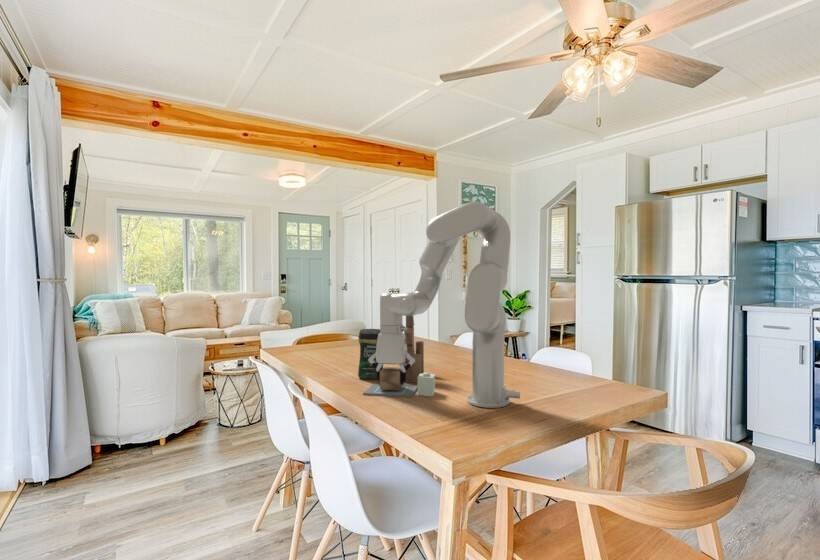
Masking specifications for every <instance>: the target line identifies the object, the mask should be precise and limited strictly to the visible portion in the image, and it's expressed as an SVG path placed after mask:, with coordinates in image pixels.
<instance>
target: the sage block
mask: <svg viewBox="0 0 820 560" xmlns="http://www.w3.org/2000/svg"><path fill="white" fill-rule="evenodd" d="M417 386H418V388H417V396H418V395H424V396H426V397H434V395H435V393H436V374H434V373H430V372H424V373H423V374H419V376H418V382H417ZM424 396H423V397H424Z"/></svg>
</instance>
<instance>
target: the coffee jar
mask: <svg viewBox="0 0 820 560" xmlns="http://www.w3.org/2000/svg"><path fill="white" fill-rule="evenodd" d="M358 333H359V334H358V343H359V348H360V349H359V361H358V363H359V364H358V374H357V377H358V378H359V379H363V380H377V371H376V369H375V368H374V367H373V366H372V364H371V363H370V362H369V361H368V359H369V358H370V357H371V356H372V355H373V354H374V353H376V346H377V338H378V334H379V333H380V328H362V329H360V330H359V332H358ZM374 361H375V362H376V357H375V358H374ZM376 363H377V362H376ZM377 364H379V363H377ZM383 368H384V365H383V366H382V369H383Z"/></svg>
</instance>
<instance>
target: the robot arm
mask: <svg viewBox="0 0 820 560" xmlns="http://www.w3.org/2000/svg"><path fill="white" fill-rule="evenodd" d="M425 230H426V231H425V232H426V238H427V239H428V242H427V243H426V246H425V247H424V250H423V251H422V254H421V256H420V257H419V261H418V263H419V267H420V270H421V271H420V272H421V273H420V274H421V275H420V278H419V282H418V284H417V285H416V288H415V289H414V291H412V292H407V293H399V292H385V293H381V294H380V296H379V329H380V333H379V334H378V338H377V346H376V353H374V354H373V355H372V356H371V357H370V358H369V359H368V361H369V362H370V363H371V364H372V366H373V367H374V368H375V369H376V371H377V379H376V380H377V381H378V384H380V371H381V370H382V366H383V367H384V365H398V366H399V368H401V370H402V372H401V384H403V385H405V384H404V383H406V382H405V381H406V371H407V370H408V369H409V368H410V367H411V365H412V364H413V363H414V362H415V359H414V358H413V357H412V356H411V355H409V354H408V353H407V343H406V336H405V334H404V331H407V327H406V325H404V324H403V316H405V317H406V316H413V317H414V316H417V315H421V314H424V313H425V312H427V311H428V310H429V308H430V307H431V305H432V303H433V301H434V299H436V295H437V294H438V291H439V290H440V289H439V288H440V286H441V282H442V279H443V275H444V274H443V273H444V270H445V269H446V266H447V264H448V263H449V260H450V258H451V256H452V254H453V252H454V251H455V249H456V246H457V245H458V243H459V241H460V239H461V237H463V236H466V235H468V234H470V233H473V232H474V233H478V234H480V235H481V237H482V243H481V246H480V257H479V263H478V264H476V265H475V266H474V267H473V268H472V269H471V271H470V273H469V275H468V279H467V287H466V296H465V306H464V319H465V320H464V321H465V323H466V325H467V327H468V328H469V329H470V330H471V331H472V349H471V350H472V351H471V352H472V357H471V358H472V394H469V395H468V396H467V402H468V403H469V404H470V405H472V406H475V407H480V408H487V409H494V408H495V409H497V408H505V407H507V406H508V405H509V404H510V400H511V399H521V392H520V391H516V390H508V389H506V385H505V335H506V334H505V333H506V331H505V330H506V320H507V319H506V318H507V317H506V311H505V308H504V306H503V304H502V303H501V302H500V300H501V299H500V298H501V293H502V291H503V290H504V289H505V288H506V286H507V284H508V283H507V282H508V271H509V261H510V247H511V229H510V225H509V223H508V222H507V220H506V219H505V217H504V216H503V215H502V214H500V213H499V212H497V211H496V210H494V209H493V208H491V207H490V206H489V205H486V204H485V203H483V202H480V201H470V202H469V201H468V202H466V203H465V204H461V205H459V206H457V207H455V208H452V209H450V210H448V211H446V212H443V213H440V214H438V215H437V216H435V217H433V218H432V219H431V220H430V221H429V223H428V224H427V226H426V228H425ZM375 357H376V362H377V363H379V364H377V363H376V362H375V361H374V358H375ZM407 359H408V360H409V361H410V362H409V363H408V364H407V365H405V362H406V361H407ZM510 398H511V399H510Z"/></svg>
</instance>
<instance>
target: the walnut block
mask: <svg viewBox="0 0 820 560" xmlns="http://www.w3.org/2000/svg"><path fill="white" fill-rule="evenodd" d="M401 372H402V370H401V368H400V367H393V366H392V367H391V366H383V369H382V370H381V371H380V383H379V384H380V389H382V390H398V391H399V390H400V389H401V387H402V386H403V385H404V384H401Z"/></svg>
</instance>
